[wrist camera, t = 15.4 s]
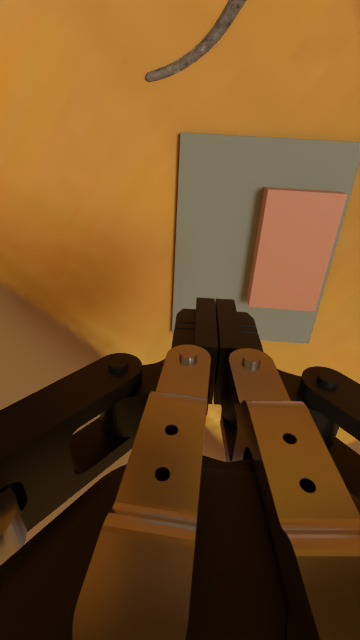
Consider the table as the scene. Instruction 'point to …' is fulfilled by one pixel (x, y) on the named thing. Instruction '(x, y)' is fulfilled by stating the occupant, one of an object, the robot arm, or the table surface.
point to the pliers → (204, 46)
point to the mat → (246, 216)
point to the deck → (293, 247)
